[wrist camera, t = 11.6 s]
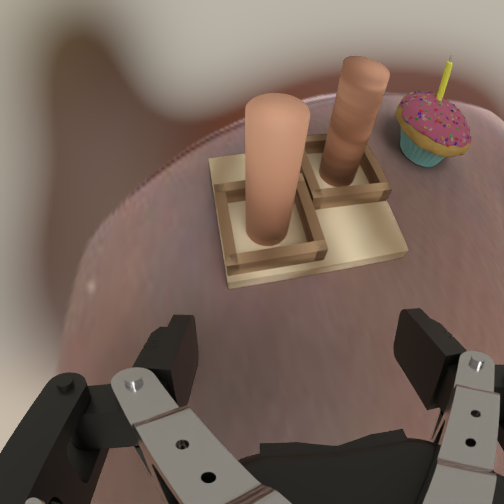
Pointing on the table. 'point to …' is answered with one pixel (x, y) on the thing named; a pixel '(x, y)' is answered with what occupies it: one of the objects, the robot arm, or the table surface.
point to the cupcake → (432, 126)
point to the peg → (272, 163)
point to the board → (319, 195)
